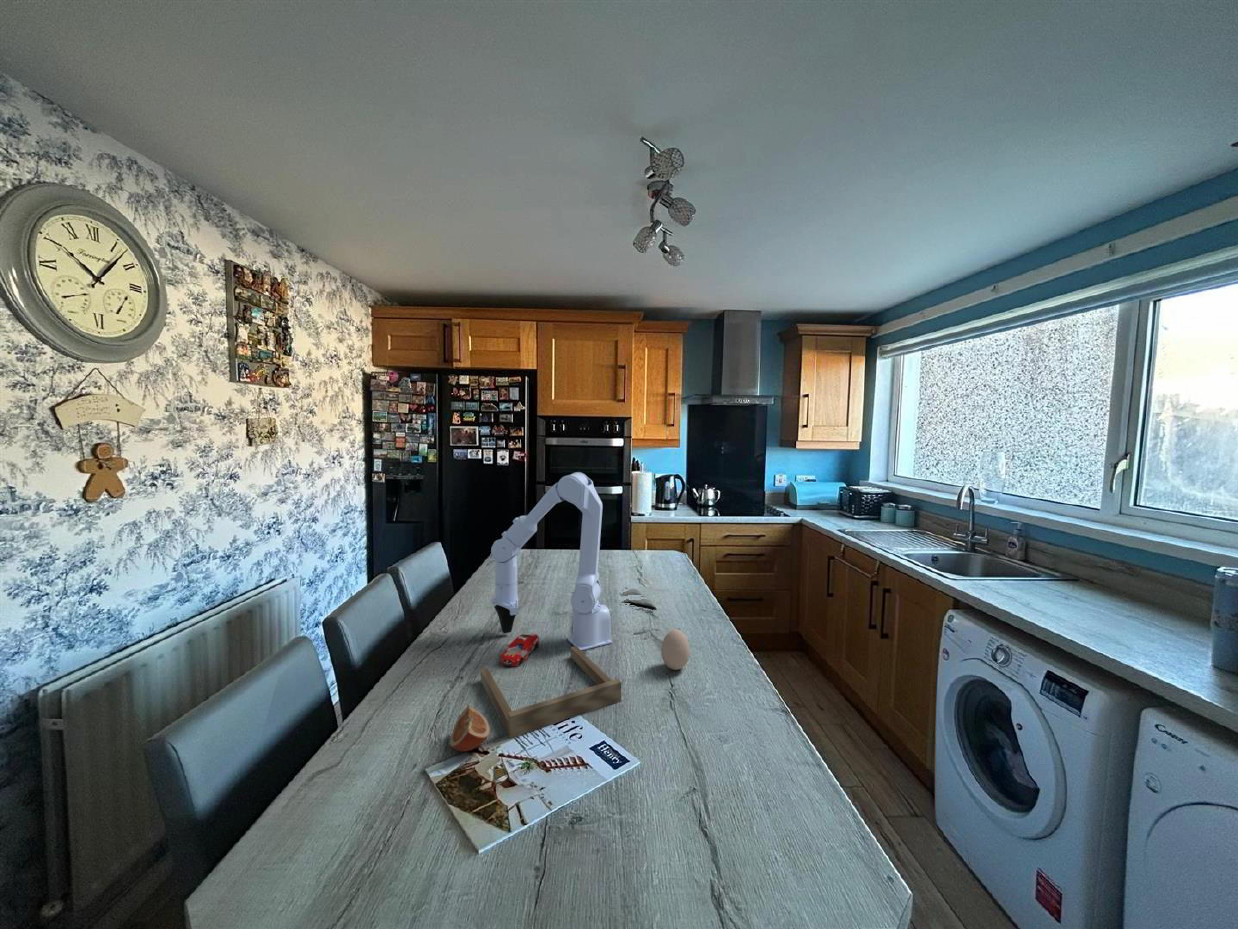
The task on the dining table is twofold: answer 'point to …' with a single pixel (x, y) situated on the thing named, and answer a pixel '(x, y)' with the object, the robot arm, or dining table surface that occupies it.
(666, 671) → the dining table surface
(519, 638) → the race car
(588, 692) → the garage bay
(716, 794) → the dining table surface
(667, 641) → the egg
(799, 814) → the dining table surface
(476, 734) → the fruit slice
